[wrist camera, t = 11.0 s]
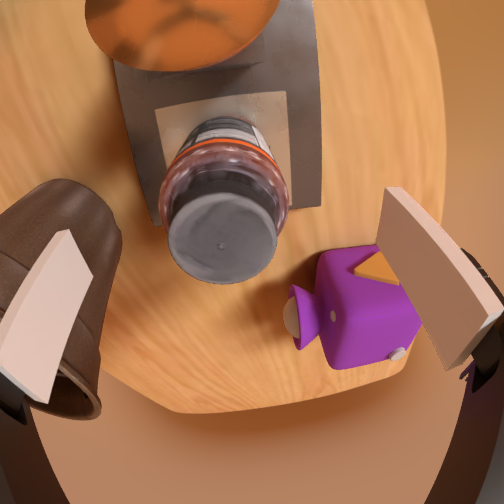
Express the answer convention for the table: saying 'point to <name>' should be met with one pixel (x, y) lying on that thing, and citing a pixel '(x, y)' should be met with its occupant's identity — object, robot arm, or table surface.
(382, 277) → the toy camera
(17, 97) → the table surface
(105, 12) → the plunger
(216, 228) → the supplement bottle
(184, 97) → the base
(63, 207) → the plant pot
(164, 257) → the table surface
